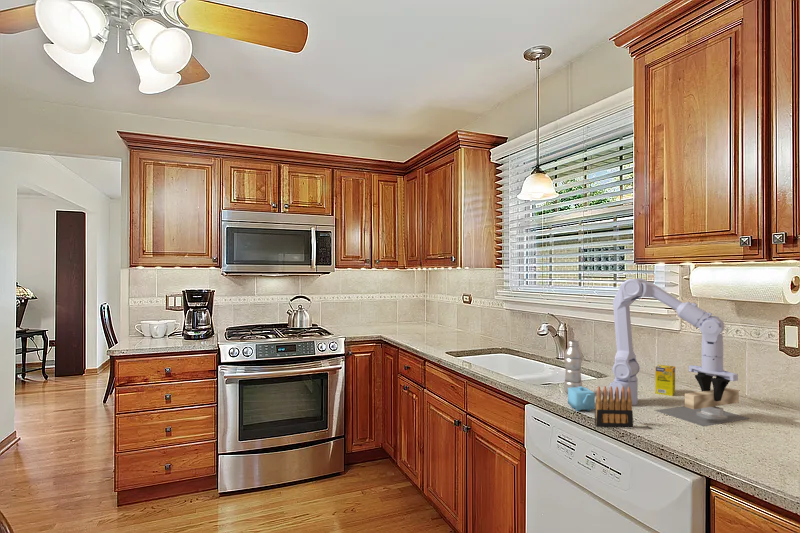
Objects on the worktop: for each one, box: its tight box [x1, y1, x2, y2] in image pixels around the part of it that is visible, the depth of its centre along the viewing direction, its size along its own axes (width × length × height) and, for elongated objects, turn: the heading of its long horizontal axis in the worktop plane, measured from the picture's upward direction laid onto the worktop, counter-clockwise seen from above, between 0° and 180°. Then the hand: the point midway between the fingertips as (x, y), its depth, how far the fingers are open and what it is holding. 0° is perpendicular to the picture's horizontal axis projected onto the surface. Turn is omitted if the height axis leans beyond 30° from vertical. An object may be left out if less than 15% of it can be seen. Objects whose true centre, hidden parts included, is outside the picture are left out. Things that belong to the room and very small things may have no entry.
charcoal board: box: [654, 405, 752, 427], centre depth 154 cm, size 21×17×1 cm
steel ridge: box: [697, 406, 728, 422], centre depth 151 cm, size 4×7×4 cm, turn 21°
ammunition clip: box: [594, 385, 634, 429], centre depth 145 cm, size 11×2×12 cm, turn 86°
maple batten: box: [684, 387, 740, 409], centre depth 151 cm, size 20×3×4 cm, turn 111°
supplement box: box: [654, 364, 676, 397], centre depth 181 cm, size 6×6×11 cm
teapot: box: [567, 385, 596, 412], centre depth 162 cm, size 12×6×8 cm, turn 3°
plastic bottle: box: [563, 339, 584, 394], centre depth 182 cm, size 6×7×20 cm
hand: (712, 399), depth 151 cm, fingers closed on maple batten, 3 cm apart
